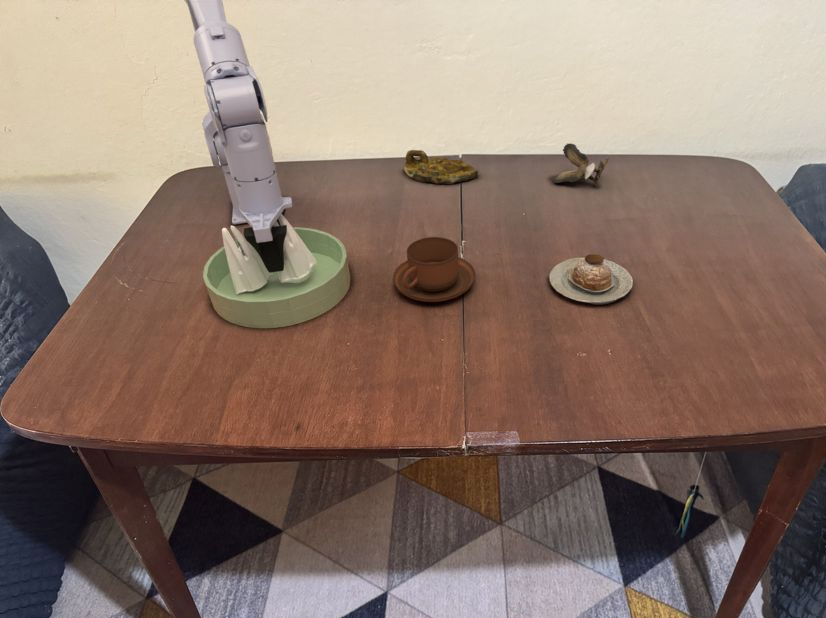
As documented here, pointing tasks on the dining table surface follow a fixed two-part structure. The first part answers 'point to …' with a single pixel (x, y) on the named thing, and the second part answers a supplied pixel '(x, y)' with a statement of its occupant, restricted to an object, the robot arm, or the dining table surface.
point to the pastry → (591, 280)
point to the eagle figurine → (579, 166)
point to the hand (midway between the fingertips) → (276, 261)
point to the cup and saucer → (433, 271)
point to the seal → (437, 169)
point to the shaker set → (250, 266)
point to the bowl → (282, 287)
